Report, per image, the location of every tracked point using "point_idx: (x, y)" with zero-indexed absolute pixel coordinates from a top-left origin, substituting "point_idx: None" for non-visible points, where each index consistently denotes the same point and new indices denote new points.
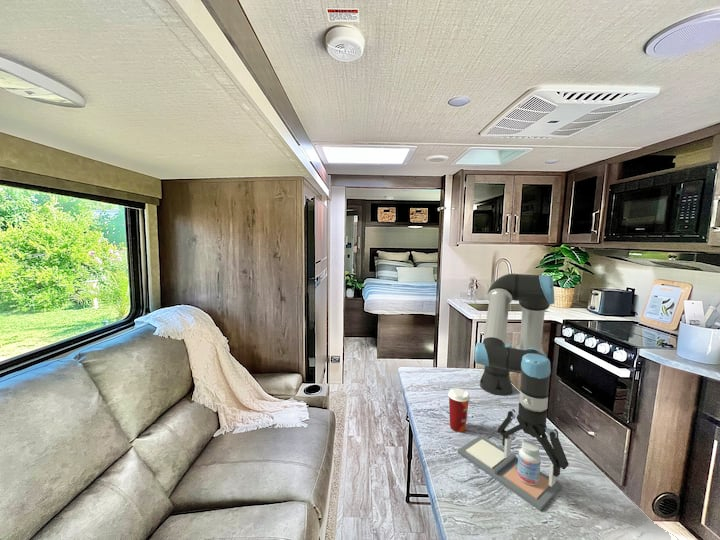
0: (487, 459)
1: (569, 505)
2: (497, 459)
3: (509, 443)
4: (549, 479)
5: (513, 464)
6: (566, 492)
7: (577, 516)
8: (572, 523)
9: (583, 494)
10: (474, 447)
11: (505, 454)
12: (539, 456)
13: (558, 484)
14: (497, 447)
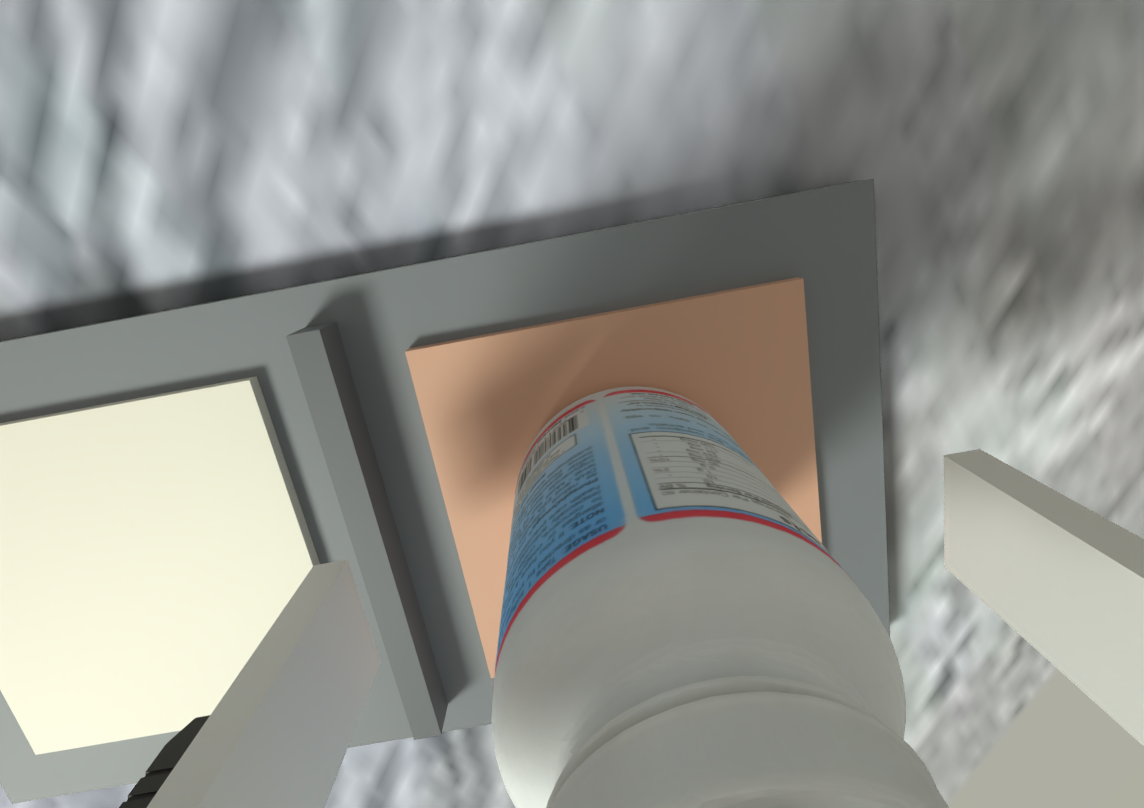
0: (239, 659)
1: (1003, 345)
2: (273, 559)
3: (270, 787)
4: (1006, 614)
5: (396, 434)
6: (915, 201)
7: (1095, 398)
8: (1089, 506)
9: (1046, 31)
10: (15, 650)
11: (352, 705)
12: (885, 676)
13: (849, 221)
14: (71, 369)
